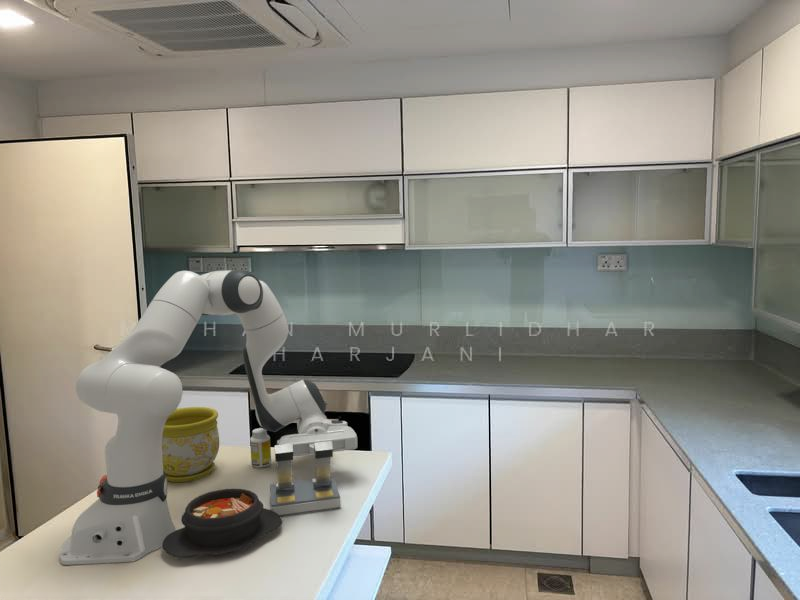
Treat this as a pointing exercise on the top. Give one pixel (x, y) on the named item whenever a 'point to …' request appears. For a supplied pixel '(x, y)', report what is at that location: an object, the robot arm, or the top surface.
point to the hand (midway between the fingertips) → (320, 453)
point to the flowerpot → (190, 443)
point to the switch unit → (304, 498)
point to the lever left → (284, 467)
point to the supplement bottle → (260, 448)
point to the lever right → (323, 463)
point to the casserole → (221, 524)
